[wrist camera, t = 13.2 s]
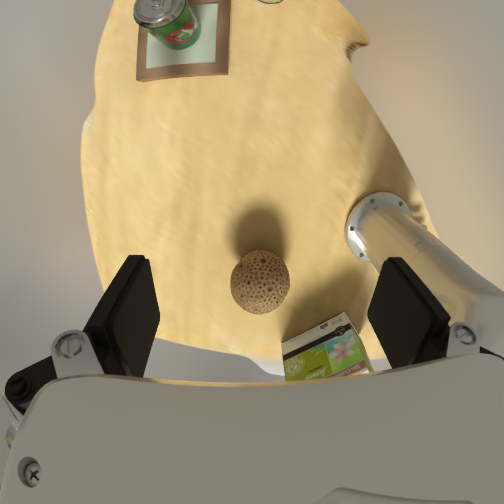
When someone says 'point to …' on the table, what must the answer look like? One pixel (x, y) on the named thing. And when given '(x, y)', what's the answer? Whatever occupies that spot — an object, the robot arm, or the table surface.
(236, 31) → the table surface
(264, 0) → the supplement bottle
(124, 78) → the table surface
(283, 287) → the natural sponge
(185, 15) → the soda can
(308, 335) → the tea box
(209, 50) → the walnut picture frame
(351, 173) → the table surface
